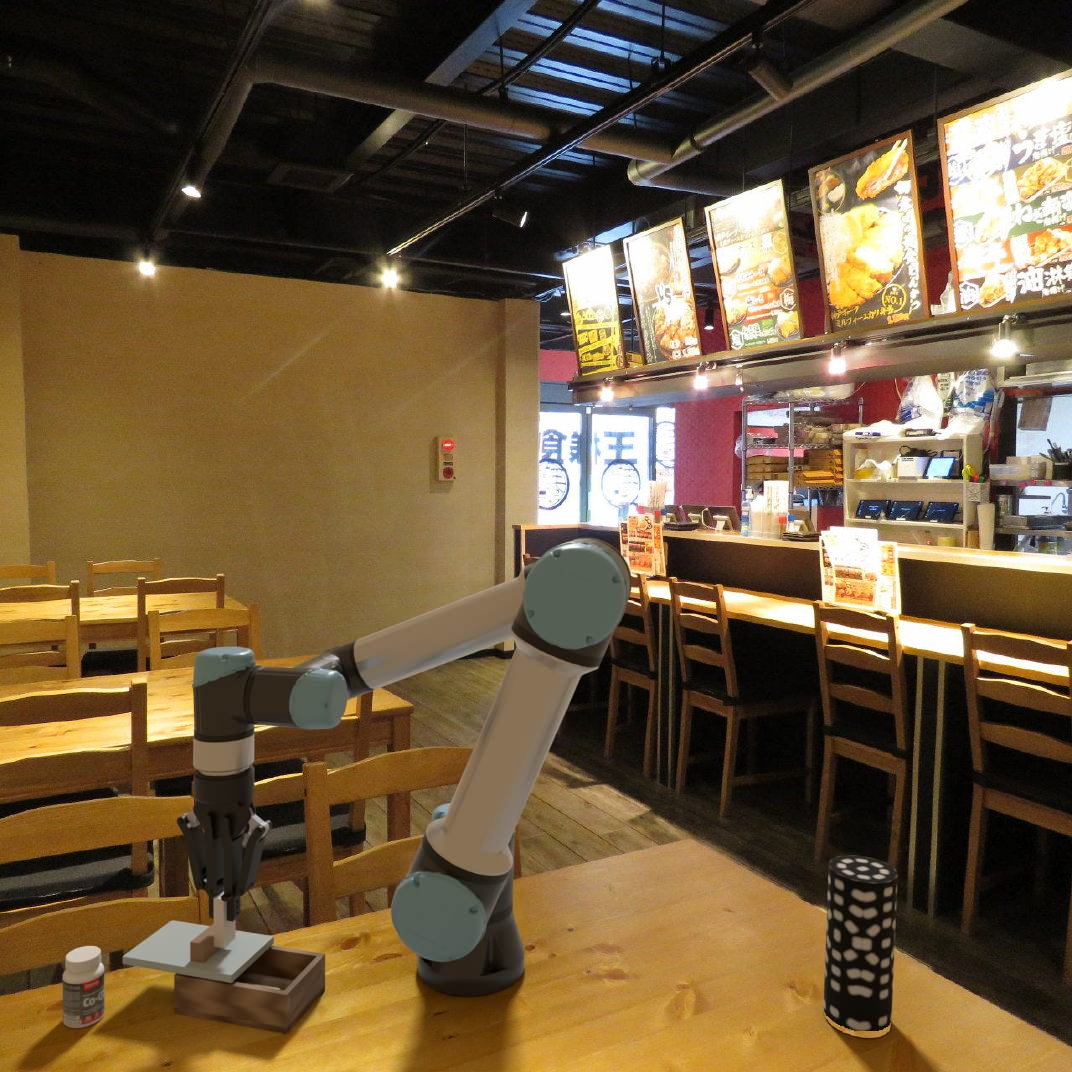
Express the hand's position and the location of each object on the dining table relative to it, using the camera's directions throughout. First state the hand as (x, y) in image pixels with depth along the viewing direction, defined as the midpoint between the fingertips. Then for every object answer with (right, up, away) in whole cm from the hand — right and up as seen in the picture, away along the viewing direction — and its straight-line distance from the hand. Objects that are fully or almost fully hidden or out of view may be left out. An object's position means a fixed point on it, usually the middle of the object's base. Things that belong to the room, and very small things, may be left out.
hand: (224, 942), depth 117 cm
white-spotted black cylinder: (+83, -9, -2) cm, 83 cm away
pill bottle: (-16, -8, -5) cm, 18 cm away
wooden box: (+4, -8, -1) cm, 8 cm away
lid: (-4, -2, +1) cm, 4 cm away
